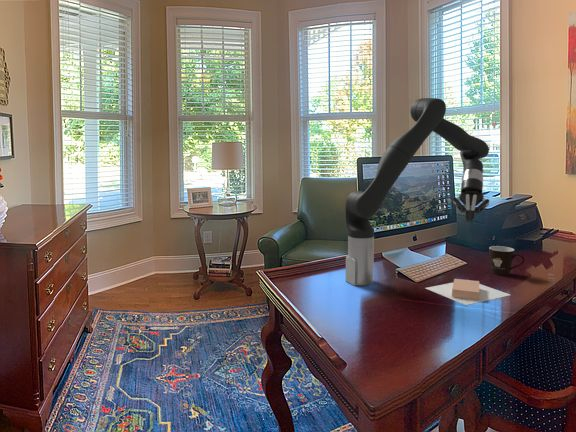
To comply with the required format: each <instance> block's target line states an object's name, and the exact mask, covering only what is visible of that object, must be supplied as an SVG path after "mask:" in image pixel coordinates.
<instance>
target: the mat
mask: <svg viewBox="0 0 576 432" xmlns="http://www.w3.org/2000/svg"><path fill="white" fill-rule="evenodd" d="M453 283H454V282H448V283H443V284H439V285H434V286H429V287H425V289H426V290H428V291H431V292H433V293H435V294H438V295H440V296H442V297H445V298H448V299H450V300H452V301H454V302H457V303H460V304H461V305H464V307H467V306H468V305H472V304H477V303H482V302H483V303H484V302H487V301H490V300H491V301H492V300H496V299H499V298H504V297H509V296H511V294H509V293H507V292H503V291H501V290H499V289H495V288H492V287H489V286H486V285H484V284H481V283H479V300H473V299H465V298H456V297H452V288H453Z"/></svg>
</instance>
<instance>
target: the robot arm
mask: <svg viewBox="0 0 576 432" xmlns="http://www.w3.org/2000/svg"><path fill="white" fill-rule="evenodd" d="M410 106H411V107H410V116H411V117H410V118H412V120H413V121H415V124H414V125H413V126H412V127H410V129H408V130H407V131H405V132H404V133H402V134H401V135H399V136H398V137H396V138H395V139H394V140H393V141H391V143H390V144H389V146H388V147H387V148H386V150H384V151H383V154H382V155H381V158H380V159H379V162H378V165H377V171H376V173H375V176H374V178H373V180H372V181H371V183H369V185H368V187H367V188H366V190H364V191H362V190H354V191H352V192H351V193H349V194H348V196H347V198H346V201H345V208H344V209H345V225H346V229H347V255H346V256H345V282H346V281H347V283H349V284H351V285H352V286H368V285H369V286H370V285H372V284H373V283H374V267H375V265H374V264H375V263H374V261H375V260H374V259H375V256H374V254H375V253H374V252H375V229H374V227H373V226H372V224H371V222H370V219H371V218H372V217H374V216H375V215H376V214H377V213H378V211H379V209H380V208H381V206H382V204H383V202H384V200H385V199H386V197H387V196H388V193H389V191H390V190H391V189H392V187H393V186H394V184H395V183H396V181H397V180H398V178H400V176H401V174H402V173H403V171H404V170H405V169H406V168H407V166H408V165H409V163H410V162H411V160H412V159H413V157H414V155H416V153H417V152H418V150H419V149H420V148H421V146H422V145H423V144H424V142H425V141H426V140H427V138H428V137H429V136H431V134H432V132H433V133H435V134H437V135H438V136H439V137H441V138H443V139H444V140H445V141H446V142H447V143H448V144H450V145H451V146H452V147H453V148H455V149H456V150H457V151H460V152H459V155H460V158H461V161H462V166H463V171H462V177H461V185H460V194H459V195H458V197H453V199H452V203H453V205H454V206H455V207H456V208H457V209H458V211H460V212H461V213H464V214H465V216H464V217H465V219H464V220H465V221H467V223H472V222H473V221H474V220H475V214H480V213H481V212H482V211H484V209H486V208H487V207H489V205H490V199H489V198H487V199H486V198H484V197H485V196H484V195H483V191H484V189H483V186H484V176H483V173H484V163H483V161H481V160H482V159H483V158H486V157H487V156H488V154H489V153H490V149H489V147H490V146H489V145H488V144H487V143H486V142H485V141H484V140H482V139H481V138H479V137H476V136H473V135H470V133H468V132H467V131H466V130H465V129H464V128H462V127H461V126H460V125H458V124H456V123H453V122H451V121H450V120H447V119H446V118H444V116H445V114H446V111H447V106H446V102H445V101H444V100H443V99H441V98H438V97H424V98H423V97H422V98H418V99H416V100H414V101H413V102H412V104H411V105H410Z"/></svg>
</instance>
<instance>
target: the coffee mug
mask: <svg viewBox="0 0 576 432" xmlns="http://www.w3.org/2000/svg"><path fill="white" fill-rule="evenodd" d="M488 250H489V251H488V252H489V268H490V273H491V274H492V275H496V276H501V277H502V276H503V277H504V276H505V277H507V276H510V274H511V270H513V269H515V268H517V267H520V266H521V265H523V264H524V263H525V257H524V256H523V255H522V254H519V253H518V254H517V253H515V248H512V247H509V246H504V245H503V246H501V245H496V246H495V245H492V246H489V248H488ZM516 257H520V258H521V259H522V262H521V263H520V264H517V265H514V266H512V264H513V260H514V258H516Z"/></svg>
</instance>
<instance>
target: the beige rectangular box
mask: <svg viewBox="0 0 576 432" xmlns="http://www.w3.org/2000/svg"><path fill="white" fill-rule="evenodd" d="M452 283H453V288H452V297H456V298H465V299H473V300H479V284H480V280H471V279H470V280H469V279H460V278H453V282H452Z"/></svg>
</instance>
